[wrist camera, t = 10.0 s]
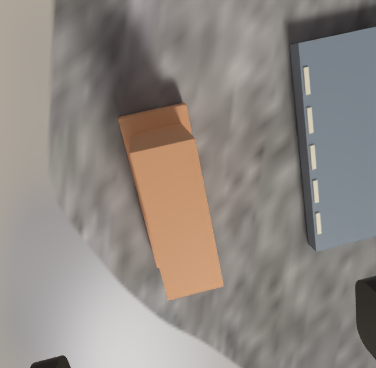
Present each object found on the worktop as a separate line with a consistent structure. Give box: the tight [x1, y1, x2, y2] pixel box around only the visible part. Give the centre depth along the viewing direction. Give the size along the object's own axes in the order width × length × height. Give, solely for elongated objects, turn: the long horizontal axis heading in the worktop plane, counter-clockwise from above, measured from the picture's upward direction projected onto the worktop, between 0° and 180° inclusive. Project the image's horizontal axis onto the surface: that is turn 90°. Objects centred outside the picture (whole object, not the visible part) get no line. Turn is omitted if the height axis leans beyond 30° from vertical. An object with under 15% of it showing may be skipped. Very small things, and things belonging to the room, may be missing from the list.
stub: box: [118, 103, 224, 301], centre depth 20 cm, size 10×4×6 cm, turn 11°
